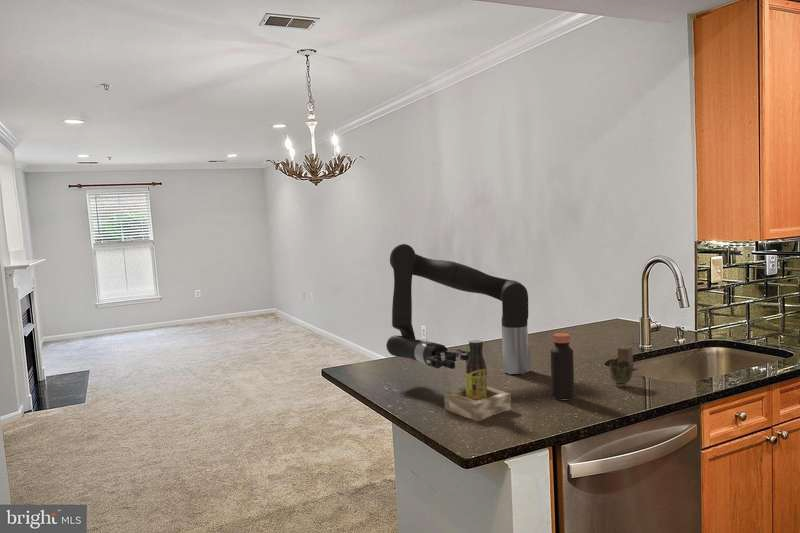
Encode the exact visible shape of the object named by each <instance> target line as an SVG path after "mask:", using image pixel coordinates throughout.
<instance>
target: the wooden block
mask: <svg viewBox="0 0 800 533" xmlns="http://www.w3.org/2000/svg"><path fill="white" fill-rule="evenodd" d="M633 355H634V353H633V347H632V346H627V345H621V346H618V347H617V361H618V363H619V362H622V360H623V361H628V362H629V363H630V362H631V363H633V364H634V360H633V358H634V357H633Z"/></svg>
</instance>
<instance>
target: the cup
mask: <svg viewBox="0 0 800 533" xmlns="http://www.w3.org/2000/svg"><path fill="white" fill-rule="evenodd" d="M608 366H609V373H610V377H611V379H612V380H613V382H615V386H616V387H617V386H618V387H617V388H620V387H624V388H627V387H626V386H628V383H629V382H630V381H631V379H632V376H633V369H634V362H633V363H631V362H630V363H629V362H628V361H623V360H622V362H619V363H618V359H616V360H614V359H613V360H610V361H608Z"/></svg>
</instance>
